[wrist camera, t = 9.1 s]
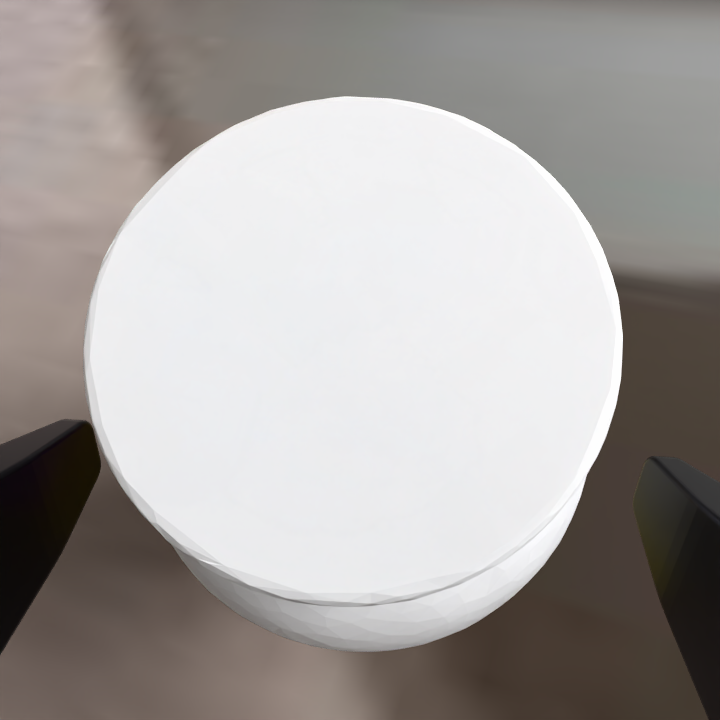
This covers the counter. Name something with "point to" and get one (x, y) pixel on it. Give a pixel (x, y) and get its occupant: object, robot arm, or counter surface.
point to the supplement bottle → (355, 368)
